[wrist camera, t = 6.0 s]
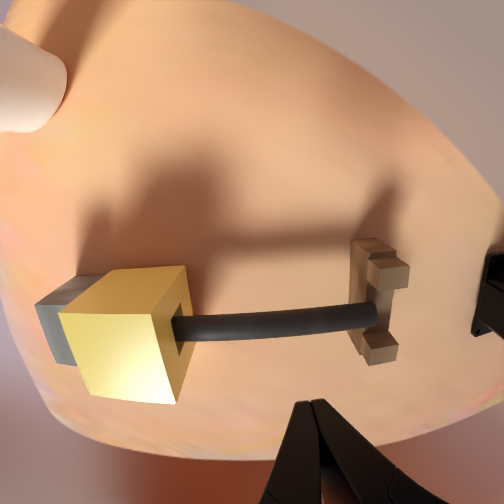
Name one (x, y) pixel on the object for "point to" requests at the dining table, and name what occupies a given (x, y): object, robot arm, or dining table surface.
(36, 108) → the drinking glass
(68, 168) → the dining table surface
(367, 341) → the cord fixture
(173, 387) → the sleeve
